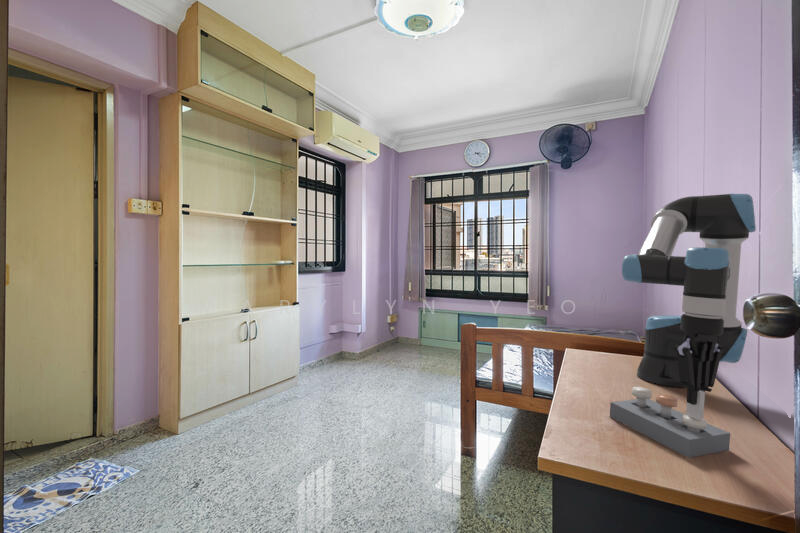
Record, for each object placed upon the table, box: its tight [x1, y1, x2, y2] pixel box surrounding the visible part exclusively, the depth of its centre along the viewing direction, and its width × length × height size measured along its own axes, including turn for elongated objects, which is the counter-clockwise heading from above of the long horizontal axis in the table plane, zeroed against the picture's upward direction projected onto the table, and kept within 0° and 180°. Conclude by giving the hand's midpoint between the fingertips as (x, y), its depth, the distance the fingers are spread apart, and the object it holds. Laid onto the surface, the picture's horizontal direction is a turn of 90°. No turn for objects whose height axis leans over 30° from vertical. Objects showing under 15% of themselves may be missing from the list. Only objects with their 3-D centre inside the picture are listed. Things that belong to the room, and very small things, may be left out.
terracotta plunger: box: [655, 393, 678, 420], centre depth 90 cm, size 4×4×5 cm
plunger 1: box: [631, 386, 653, 409], centre depth 96 cm, size 4×4×5 cm
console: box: [609, 398, 731, 458], centre depth 90 cm, size 13×20×4 cm, turn 18°
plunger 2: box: [682, 413, 707, 433], centre depth 84 cm, size 4×4×5 cm
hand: (694, 417), depth 83 cm, fingers closed
